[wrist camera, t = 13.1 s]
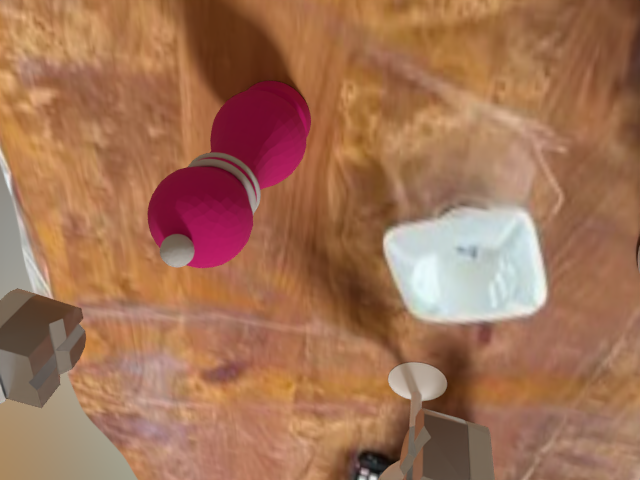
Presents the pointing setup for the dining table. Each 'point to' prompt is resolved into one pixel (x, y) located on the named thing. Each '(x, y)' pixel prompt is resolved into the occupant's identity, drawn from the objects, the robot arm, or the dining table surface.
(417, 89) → the dining table surface
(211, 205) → the pepper mill
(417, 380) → the champagne flute
